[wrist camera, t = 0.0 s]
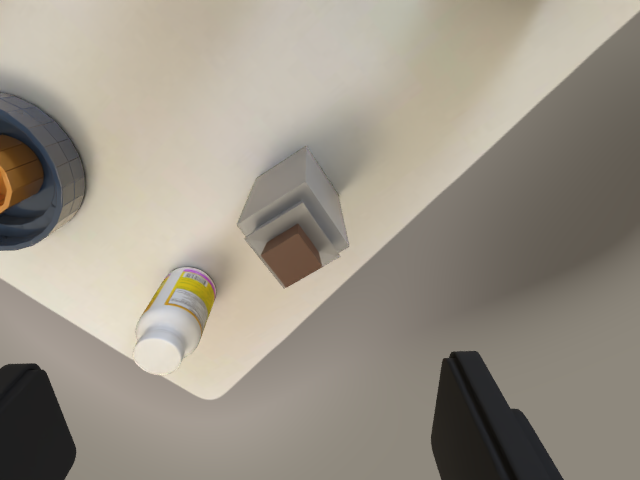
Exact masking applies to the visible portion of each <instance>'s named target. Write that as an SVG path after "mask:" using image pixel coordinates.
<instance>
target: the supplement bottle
mask: <svg viewBox="0 0 640 480" xmlns="http://www.w3.org/2000/svg"><path fill="white" fill-rule="evenodd" d="M215 297H216V288H215V284H214V283H213V281H212V279H211V278H210V277H209V276H208V275H207V274H206V273H204V272H203V271H201V270H199V269H196V268H191V267H183V268H178V269H175V270H173V271H172V272H170V273H169V274H168V275H167V276H166V278H165V279H164V281H163V282H162V284H161V285H160V287H159V289H158V290H157V292H156V293H155V295H154V297H153V298H152V300H151V302H150V303H149V305H148V306H147V308H146V310H145V311H144V313H143V314H142V316H141V317H140V319H139V321H138V323H137V326H136V338H137V343H136V345H135V347H134V350H133V358H134V361H135V362H136V364H137V365H138V366H139V367H140V368H141V369H143V370H144V371H146V372H148V373H151V374H155V375H166V374H170V373H172V372H174V371H175V370H176V369H177V368H178V367H179V366H180V364H181V362H182V359H183V358H185V357H187V356H188V355H190V354H191V353H192V352H193V351H194V350H195V349H196V348H197V346H198V344H199V341H200V339H201V336H202V333H203V330H204V328H205V325H206V322H207V319H208V317H209V314H210V311H211V308H212V306H213V303H214V300H215Z"/></svg>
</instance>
